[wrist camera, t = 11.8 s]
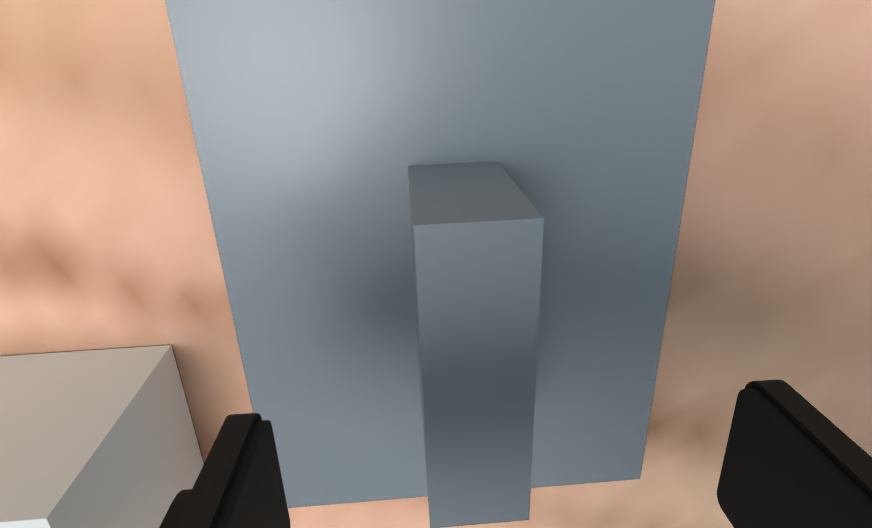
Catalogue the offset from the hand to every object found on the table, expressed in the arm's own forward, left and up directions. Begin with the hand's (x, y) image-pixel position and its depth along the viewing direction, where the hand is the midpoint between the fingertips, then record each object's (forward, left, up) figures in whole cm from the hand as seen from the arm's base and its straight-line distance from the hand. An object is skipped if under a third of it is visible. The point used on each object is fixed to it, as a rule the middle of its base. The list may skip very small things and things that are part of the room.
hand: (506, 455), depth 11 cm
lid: (0, 0, -8) cm, 8 cm away
